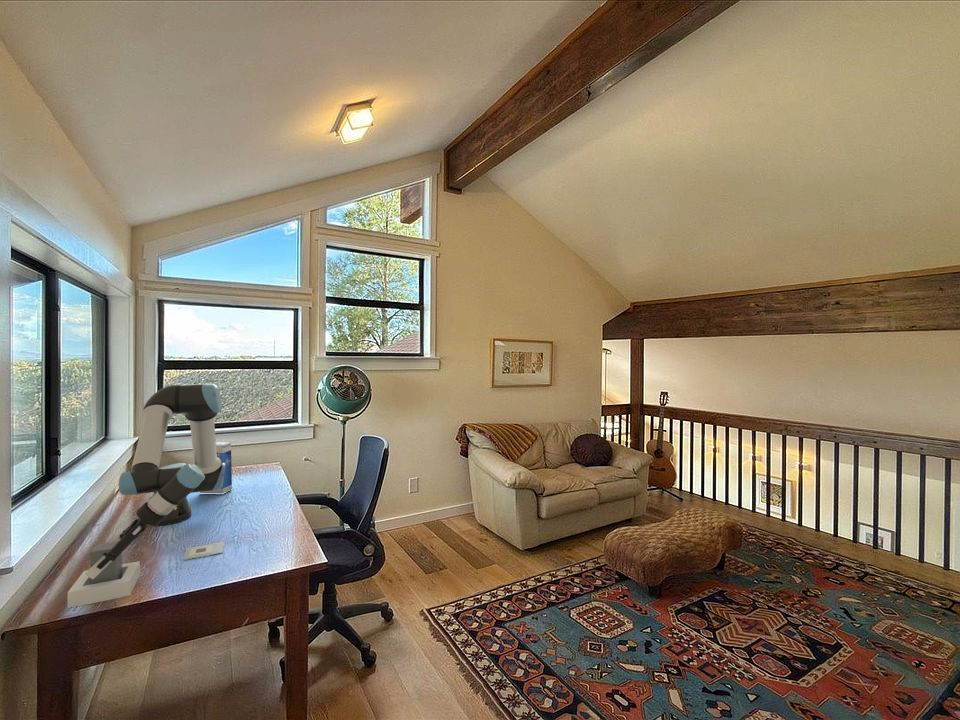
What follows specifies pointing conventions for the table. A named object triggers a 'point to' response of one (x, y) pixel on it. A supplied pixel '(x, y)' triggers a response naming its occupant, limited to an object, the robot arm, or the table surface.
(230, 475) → the string lights box
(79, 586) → the socket base
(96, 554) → the charcoal pillar
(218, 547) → the card
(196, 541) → the table surface
